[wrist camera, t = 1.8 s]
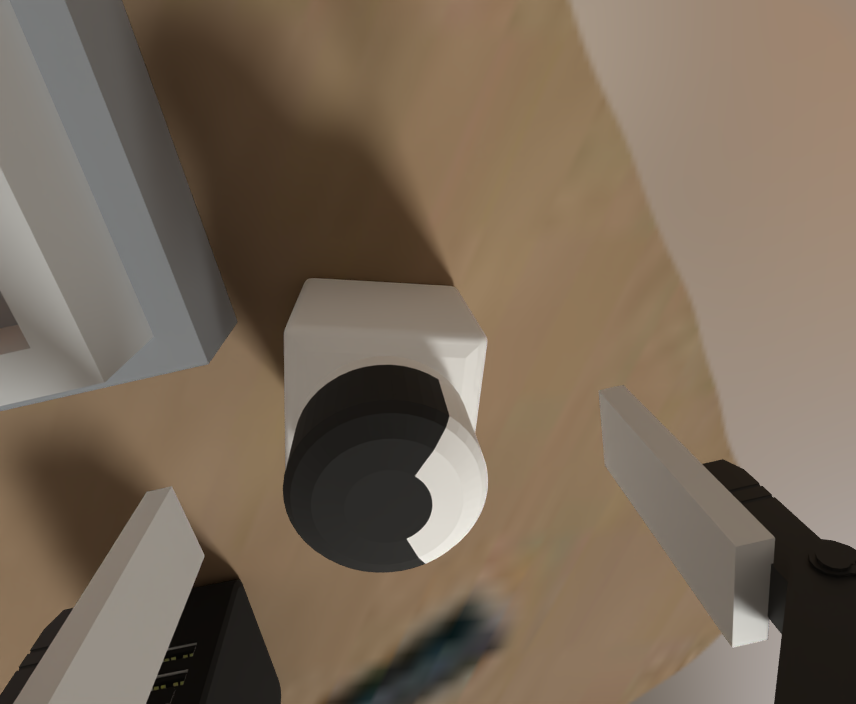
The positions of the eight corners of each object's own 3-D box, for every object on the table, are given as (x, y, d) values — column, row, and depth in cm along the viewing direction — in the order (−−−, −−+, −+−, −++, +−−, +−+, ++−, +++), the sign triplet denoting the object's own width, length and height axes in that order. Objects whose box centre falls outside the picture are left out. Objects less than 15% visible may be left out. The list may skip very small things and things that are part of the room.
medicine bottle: (304, 414, 27) (261, 606, 16) (304, 275, 24) (254, 389, 13) (443, 417, 28) (495, 601, 17) (458, 284, 25) (530, 397, 14)
